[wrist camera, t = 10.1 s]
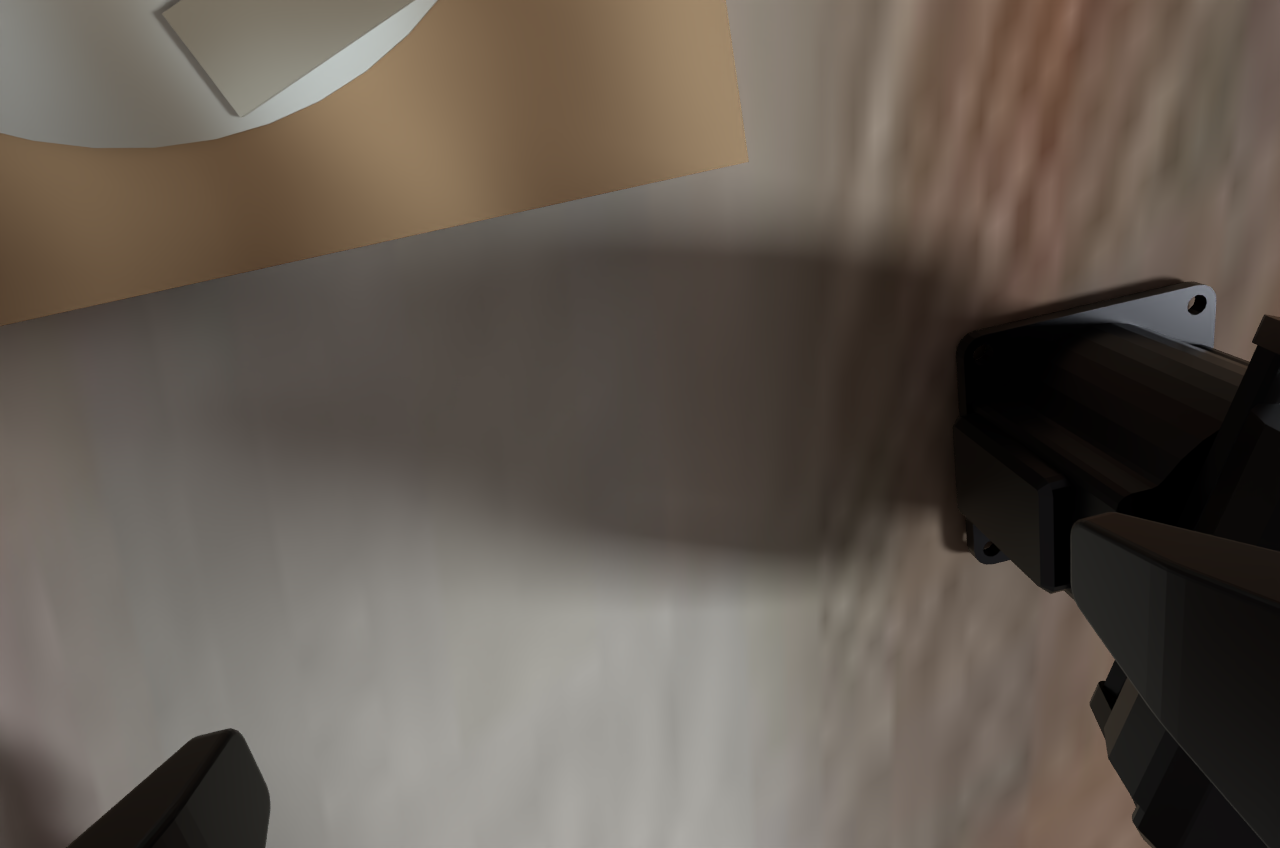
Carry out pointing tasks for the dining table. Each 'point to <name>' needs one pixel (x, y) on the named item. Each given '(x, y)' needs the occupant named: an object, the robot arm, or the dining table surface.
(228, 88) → the tuner board
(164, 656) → the dining table surface
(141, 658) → the dining table surface
